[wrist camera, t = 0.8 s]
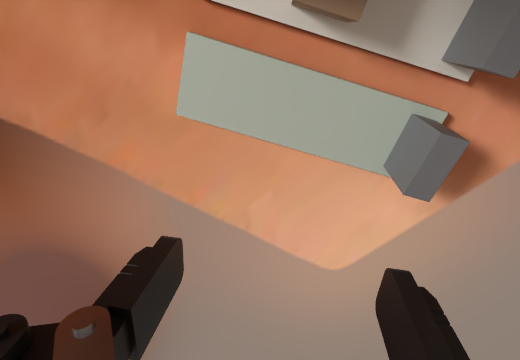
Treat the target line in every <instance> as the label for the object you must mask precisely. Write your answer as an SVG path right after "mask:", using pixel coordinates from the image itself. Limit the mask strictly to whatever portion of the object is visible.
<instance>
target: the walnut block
mask: <svg viewBox="0 0 520 360" xmlns="http://www.w3.org/2000/svg"><path fill="white" fill-rule="evenodd" d="M366 3H367V0H292V3H291V5H294V6H297V7H300V8H303V9H306V10H309V11H312V12H315V13H318V14H321V15H324V16H328V17H331V18H334V19H337V20H340V21H343V22H358V21H359V20H360V18H361V15H362V13H363V10H364V8H365V5H366Z"/></svg>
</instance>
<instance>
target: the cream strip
mask: <svg viewBox="0 0 520 360" xmlns="http://www.w3.org/2000/svg"><path fill="white" fill-rule="evenodd" d="M212 1H215V2H218V3H221V4H224V5H228V6H231V7H234V8H237V9H240V10H243V11H246V12H250V13H253V14H256V15H259V16H262V17H265V18H268V19H271V20H275V21H278V22H281V23H284V24H287V25H290V26H293V27H297V28H300V29H303V30H306V31H309V32H312V33H315V34H319V35H322V36H325V37H328V38H331V39H334V40H337V41H340V42H344V43H347V44H350V45H353V46H356V47H359V48H362V49H366V50H369V51H372V52H375V53H378V54H381V55H384V56H388V57H391V58H394V59H397V60H400V61H403V62H406V63H409V64H413V65H416V66H419V67H422V68H425V69H428V70H431V71H435V72H438V73H441V74H444V75H447V76H450V77H453V78H457V79H460V80H463V81H466V82H468V80H469V79H470V77H471V75H472V74H473V72H474V71H475V70H476V71H481V72H485V73H490V74H494V75H498V76H503V77H507V78H512V79H514V77H515V76H516V75H517V73H518V72H519V70H520V0H367V3H366V5H365V8H364V10H363V13H362V15H361V18H360V20H359V21H358V22H343V21H340V20H337V19H334V18H331V17H328V16H324V15H321V14H318V13H315V12H312V11H309V10H306V9H303V8H300V7H297V6H294V5H291V3H292V0H212Z"/></svg>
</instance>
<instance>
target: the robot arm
mask: <svg viewBox="0 0 520 360" xmlns="http://www.w3.org/2000/svg"><path fill="white" fill-rule="evenodd" d="M183 271H184V265H183V245H182V239H181V238H175V237H168V236H161V237H160V238H159V240H158V241H157V243H156V244H155V245H154V246H153V247H145V248H144V249H142V250H141V251H139V252H138V253H136V254H135V255H134V256H133V257H132V258H131V259H130V261H129V262H128V263H127V265H126V266H125V267H124V268H123V269H122V270H121V271H120V274H118V275H117V276H116V277H115V279H114V280H113V281H112V282H111V283H110V285H109V286H108V287H107V288H106V289H105V291H104V292H103V293H102V294H101V296H100V297H99V298H98V299H97V300H96V301H95V303H94V304H93V305H92V306H88V307H84V308H81V309H78V310H76V311H74V312H73V313H71V314H69V315H68V316H67V317H66V318H64V319H63V320H62V321H61V322H60V323H53V324H46V325H38V326H30V327H29V325H28V322H27V320H26V318H25V317H24V316H22V315H19V314H8V315H3V316H0V360H128V359H129V360H140V359H141V357H142V355H143V353H144V351H145V349H146V348H147V345H148V344H149V342H150V340H151V338H152V336H153V334H154V332H155V330H156V329H157V327H158V325H159V323H160V321H161V319H162V317H163V315H164V313H165V311H166V310H167V308H168V306H169V304H170V302H171V300H172V298H173V296H174V295H175V292H176V291H177V289H178V287H179V285H180V283H181V280H182V277H183ZM376 315H377V319H378V322H379V326H380V329H381V332H382V336H383V339H384V343H385V346H386V349H387V353H388V356H389V360H470V359H469V357H468V355H467V353H466V351H465V350H464V348H463V346H462V344H461V342H460V341H459V339H458V337H457V335H456V333H455V332H454V330H453V328H452V327H451V326H450V323H449V321H448V319H447V317H446V316H445V315H444V312H443V310H442V308H441V307H440V305H439V303H438V301H437V299H436V298H434V296H432V294H430V293H429V292H428V291H427V290H426V289H425V288H424V287H418V286H417V284H416V282H415V280H414V278H413V276H412V274H411V273H410V272H409V271H405V270H399V269H391V268H387V269H386V270H385V273H384V276H383V279H382V282H381V285H380V288H379V291H378V294H377V298H376Z"/></svg>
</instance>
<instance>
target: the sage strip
mask: <svg viewBox="0 0 520 360" xmlns="http://www.w3.org/2000/svg"><path fill="white" fill-rule="evenodd" d="M176 115H179V116H183V117H186V118H190V119H193V120H197V121H200V122H203V123H207V124H210V125H214V126H217V127H220V128H224V129H227V130H231V131H234V132H238V133H241V134H244V135H248V136H251V137H255V138H258V139H261V140H265V141H268V142H272V143H275V144H279V145H282V146H285V147H289V148H292V149H296V150H299V151H303V152H306V153H309V154H313V155H316V156H320V157H323V158H326V159H330V160H333V161H337V162H340V163H344V164H347V165H350V166H354V167H357V168H361V169H364V170H367V171H371V172H374V173H378V174H381V175H385V176H388V177H391V178H392V179H393V181H394V182H395V184H396V185H397V186H398V188H399V189H400V191H401V192H402V194H403V195H406V196H410V197H413V198H417V199H420V200H424V201H427V202H430V200H431V199H432V197H433V196H434V194H435V193H436V191H437V190H438V188H439V187H440V186H441V184H442V183H443V181H444V180H445V178H446V177H447V175H448V174H449V172H450V171H451V170H452V168H453V167H454V165H455V164H456V162H457V161H458V159H459V158H460V156H461V155H462V153H463V152H464V151H465V149H466V148H467V146H468V145H469V143H470V141H468V140H466V139H465V138H463V137H462V136H460V135H458V134H457V133H455V132H454V131H452V130H450V129H449V128H447V127H445V126H444V125H442V123H443V121H444V120H445V118H446V116H447V115H448V112H446V111H444V110H441V109H438V108H435V107H431V106H428V105H425V104H422V103H419V102H415V101H412V100H409V99H406V98H402V97H399V96H396V95H393V94H390V93H386V92H383V91H380V90H377V89H373V88H370V87H367V86H364V85H361V84H357V83H354V82H351V81H348V80H345V79H341V78H338V77H335V76H332V75H328V74H325V73H322V72H319V71H316V70H312V69H309V68H306V67H303V66H299V65H296V64H293V63H290V62H287V61H283V60H280V59H277V58H274V57H271V56H267V55H264V54H261V53H258V52H254V51H251V50H248V49H245V48H242V47H238V46H235V45H232V44H229V43H226V42H222V41H219V40H216V39H213V38H209V37H206V36H203V35H200V34H197V33H193V32H187V35H186V43H185V50H184V58H183V65H182V73H181V80H180V88H179V95H178V103H177V110H176Z"/></svg>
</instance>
